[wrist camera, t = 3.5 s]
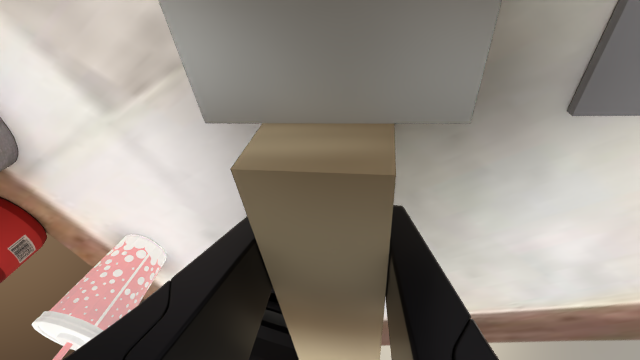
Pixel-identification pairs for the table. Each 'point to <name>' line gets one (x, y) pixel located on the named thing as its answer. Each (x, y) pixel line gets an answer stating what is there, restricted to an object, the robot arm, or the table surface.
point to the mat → (613, 68)
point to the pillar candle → (7, 147)
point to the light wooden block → (329, 135)
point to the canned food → (17, 237)
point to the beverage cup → (103, 294)
